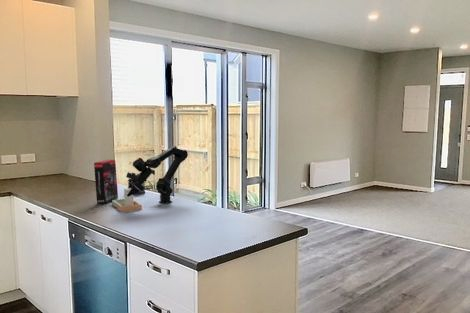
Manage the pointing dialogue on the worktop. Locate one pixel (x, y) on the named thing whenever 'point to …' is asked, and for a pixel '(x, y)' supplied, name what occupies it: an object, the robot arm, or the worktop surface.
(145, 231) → the worktop surface
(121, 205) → the frame
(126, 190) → the cream rectangular block
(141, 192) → the small box
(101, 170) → the graphics card box
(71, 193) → the worktop surface
